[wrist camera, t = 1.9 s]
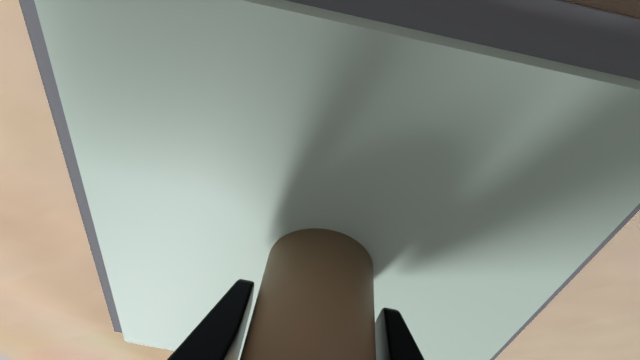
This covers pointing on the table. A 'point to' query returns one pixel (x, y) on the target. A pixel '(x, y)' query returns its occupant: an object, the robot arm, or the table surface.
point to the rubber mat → (437, 18)
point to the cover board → (333, 172)
